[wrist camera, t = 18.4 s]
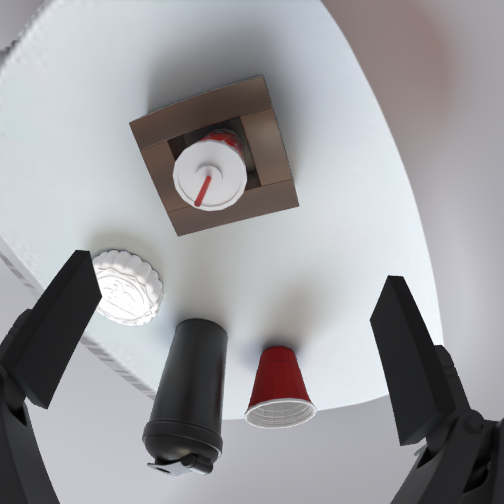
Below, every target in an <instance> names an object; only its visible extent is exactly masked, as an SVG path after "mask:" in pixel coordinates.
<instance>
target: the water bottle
mask: <svg viewBox="0 0 504 504" xmlns="http://www.w3.org/2000/svg"><path fill="white" fill-rule="evenodd" d="M227 340H228V338H227V334H226V332H225V331H224V329H223V328H222V327H220V326H219V325H218V324H216V323H214V322H212V321H209V320H205V319H188V320H185V321H183V322H181V323H180V324H179V325H178V326H177V329H176V332H175V335H174V338H173V341H172V345H171V348H170V351H169V354H168V358H167V361H166V364H165V368H164V371H163V374H162V378H161V381H160V384H159V388H158V391H157V395H156V398H155V402H154V406H153V409H152V413H151V416H150V420H149V422H148V423H147V424H146V427H145V428H144V433H143V437H142V440H143V442H144V444H145V447H146V449H147V451H148V453H150V455H151V456H152V457H153V458H155V464H151V463H148V464H147V465H148V466H149V467H151V468H153V469H155V470H158V471H160V472H163V473H165V474H168V475H175V476H177V475H180V474H183V473H187V472H192V471H195V472H198V473H200V474H205V475H207V474H209V473H210V472H212V470H213V463H214V462H215V461H216V460H217V458H219V457H220V456H221V454H222V445H223V441H222V438H221V421H222V407H223V393H224V379H225V365H226V352H227Z"/></svg>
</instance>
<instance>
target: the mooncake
mask: <svg viewBox="0 0 504 504" xmlns="http://www.w3.org/2000/svg"><path fill="white" fill-rule="evenodd" d="M92 263H93V266H94V270H95V273H96V277H97V280H98V284H99V287H100V291H101V294H102V299H101V301H100V302H99V304H98V306H97V308H96V309H97V310H98V312H99V313H100V314H102V315H104V316H105V317H107V318H108V319H110V320H115V321H116V322H118V323H120V324H126V325H130V326H133V325H135V324H136V325H143V324H144V323H145V322H150V321H151V320H152V318H153V317H155V316H156V315H157V313H158V310H159V307H160V304H161V301H162V298H163V295H164V293H163V290H162V287H163V284H162V282H161V281H160V280H159V279H158V278H159V276H158V274H157V272H156V271H154V270H152V268H151V266H150V264H149V263H147V262H144V261H142V260H141V258H140V257H139V256H137V255H132V256H131V255H130V253H128V252H126V251H121V252H118V251H117V250H111V251H110V252H109V253H108V252H102V253H101V254H100V256H97V257H95V258H94V259H93V261H92Z"/></svg>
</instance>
